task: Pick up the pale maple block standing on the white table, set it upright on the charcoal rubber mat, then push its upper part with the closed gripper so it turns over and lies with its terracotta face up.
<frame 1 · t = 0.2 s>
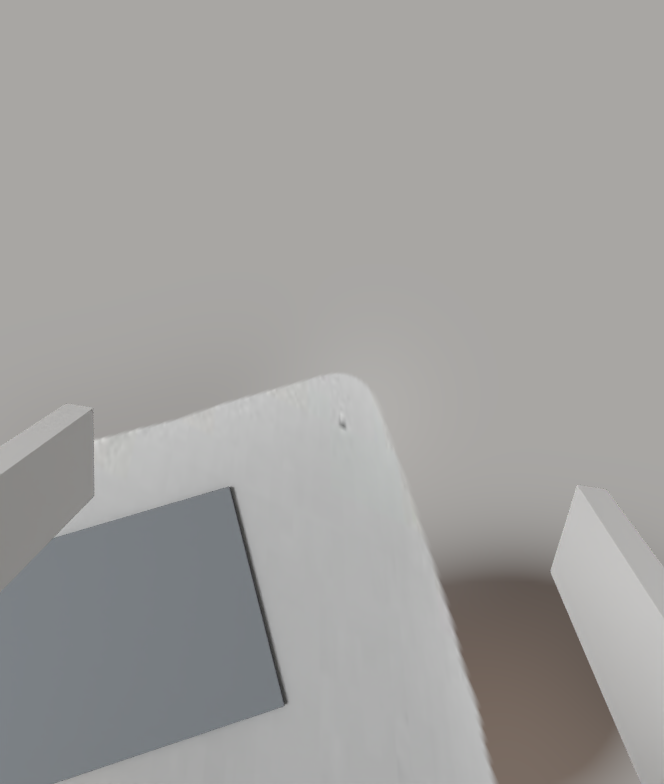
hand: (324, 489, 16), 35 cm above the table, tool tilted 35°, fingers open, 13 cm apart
mat: (114, 635, 47), on the table
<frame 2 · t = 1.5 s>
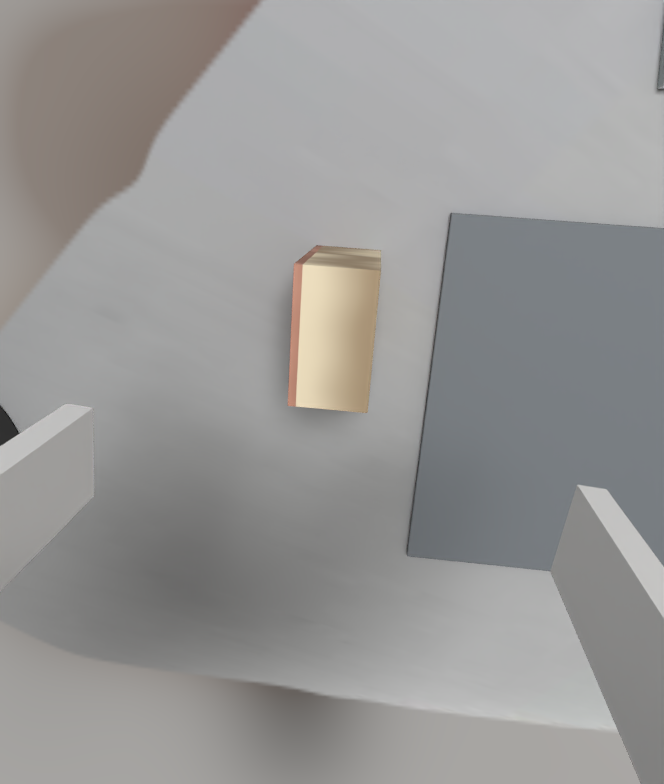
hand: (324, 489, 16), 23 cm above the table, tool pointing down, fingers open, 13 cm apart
mat: (562, 411, 38), on the table
face block: (344, 303, 37), on the table
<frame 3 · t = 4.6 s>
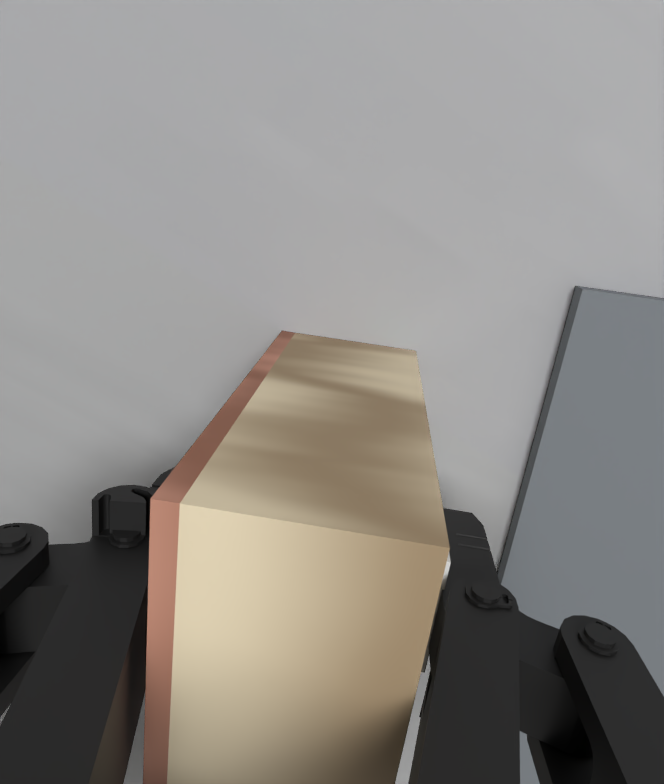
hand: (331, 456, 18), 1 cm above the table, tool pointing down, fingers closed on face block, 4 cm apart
face block: (333, 447, 18), on the table, touching gripper
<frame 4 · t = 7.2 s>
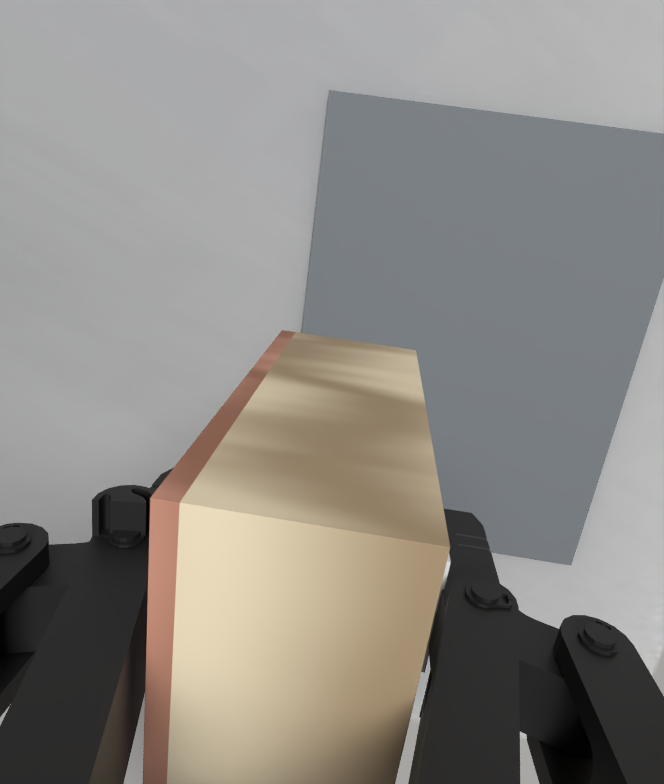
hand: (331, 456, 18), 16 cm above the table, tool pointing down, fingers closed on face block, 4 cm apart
mat: (462, 352, 32), on the table
face block: (333, 447, 18), point 15 cm above the table, touching gripper
when the fingers open (3 cm above the table, at t = 10.0 s): face block drops 1 cm, resting on mat.
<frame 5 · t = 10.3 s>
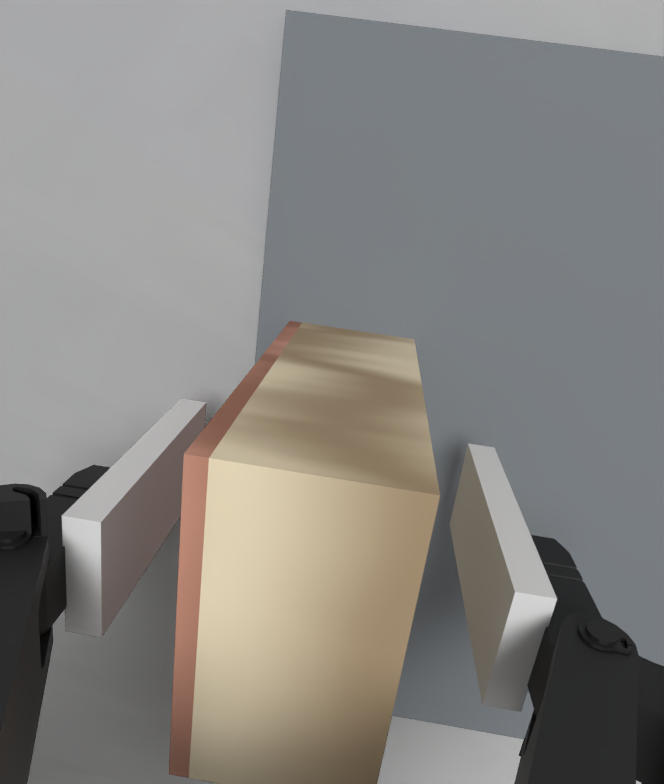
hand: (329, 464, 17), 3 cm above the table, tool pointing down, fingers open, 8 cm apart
mat: (511, 451, 20), on the table
face block: (337, 430, 19), point 1 cm above the table, touching mat
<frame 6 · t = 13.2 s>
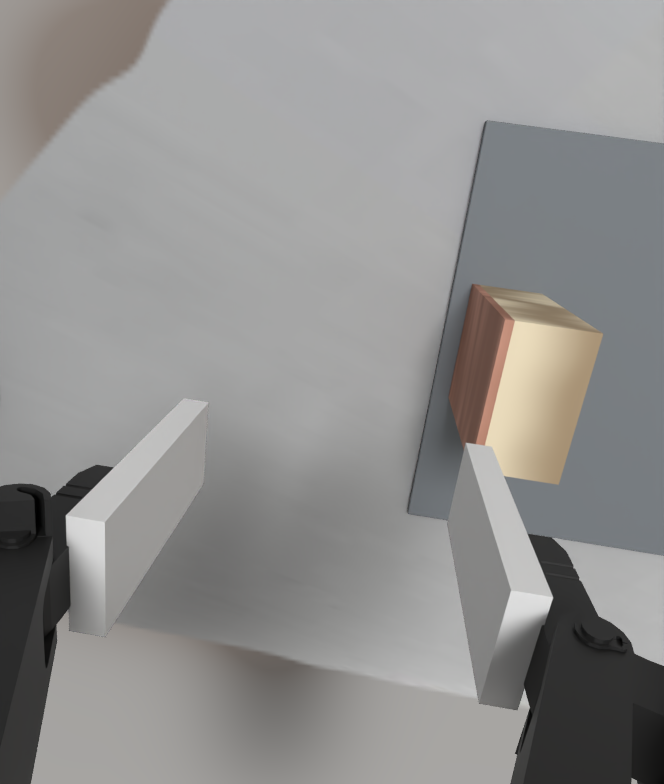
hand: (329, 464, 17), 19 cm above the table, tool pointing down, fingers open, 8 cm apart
mat: (591, 360, 34), on the table
face block: (493, 347, 34), point 1 cm above the table, touching mat
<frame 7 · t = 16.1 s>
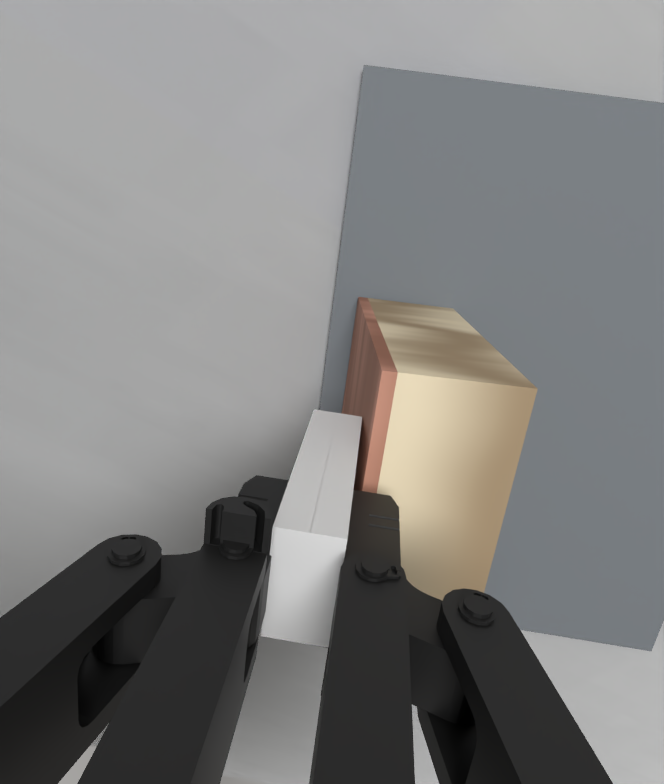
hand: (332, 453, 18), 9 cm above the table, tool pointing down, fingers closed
mat: (525, 396, 26), on the table
face block: (392, 381, 25), point 1 cm above the table, tilted 6°, touching mat
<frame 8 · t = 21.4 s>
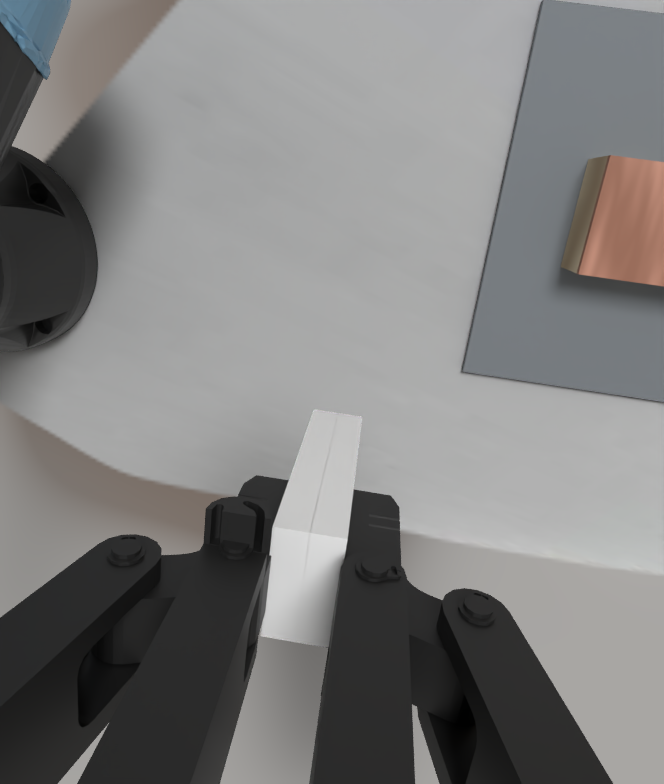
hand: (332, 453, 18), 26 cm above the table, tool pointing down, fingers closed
mat: (629, 222, 39), on the table
face block: (583, 215, 37), point 3 cm above the table, tilted 90°, touching mat
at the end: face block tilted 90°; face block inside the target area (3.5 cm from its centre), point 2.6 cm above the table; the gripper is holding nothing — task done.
